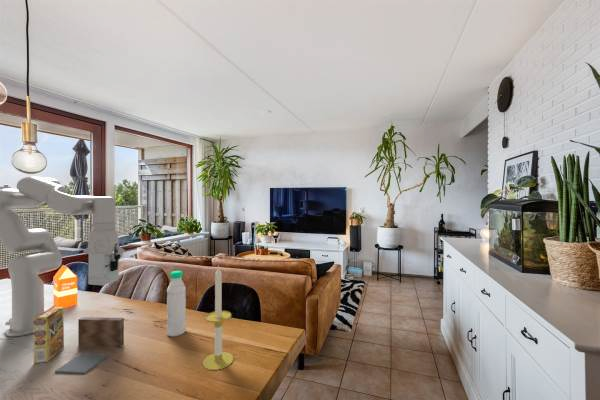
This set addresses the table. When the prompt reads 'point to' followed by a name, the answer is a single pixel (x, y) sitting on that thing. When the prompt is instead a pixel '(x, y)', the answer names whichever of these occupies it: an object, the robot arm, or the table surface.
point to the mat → (82, 363)
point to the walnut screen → (101, 332)
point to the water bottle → (176, 305)
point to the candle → (218, 329)
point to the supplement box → (101, 269)
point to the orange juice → (65, 288)
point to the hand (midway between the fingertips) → (104, 270)
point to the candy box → (48, 334)
